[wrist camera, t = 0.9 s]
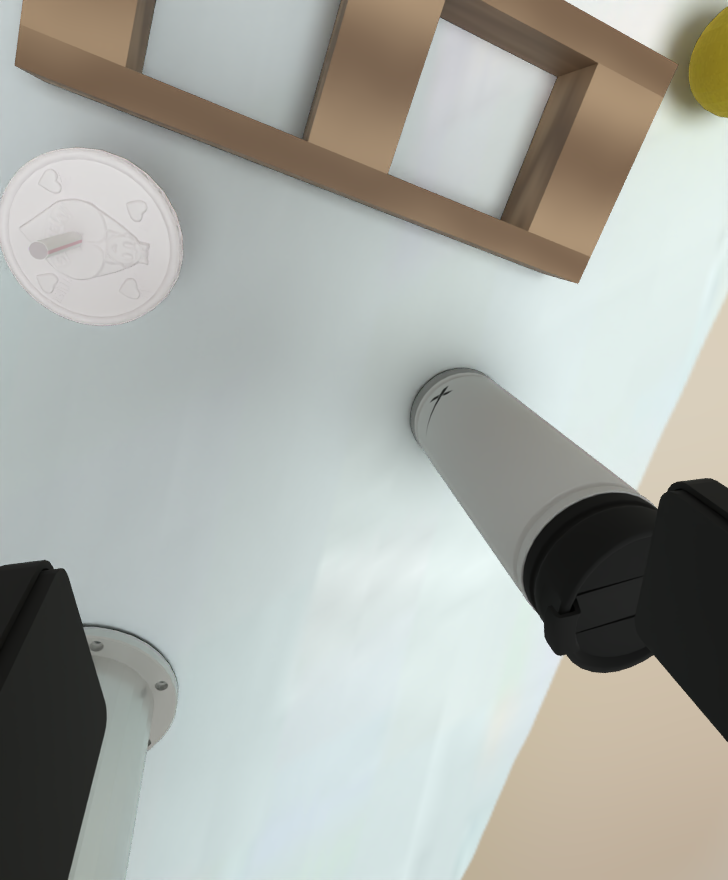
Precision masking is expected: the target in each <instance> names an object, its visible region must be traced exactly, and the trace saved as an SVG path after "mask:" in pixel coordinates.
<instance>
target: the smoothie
mask: <svg viewBox="0 0 728 880" xmlns="http://www.w3.org/2000/svg"><path fill="white" fill-rule="evenodd" d="M0 245H1V249H2V252H3V255H4V258H5V260H6V262H7V264H8V266H9V268H10V270H11V272H12V273H13V275H14V276H15V278H16V279H17V281H18V282H19V283H20V285H21V286H22V287H23V288H24V289H25V290H26V291H27V292H28V294H29V295H30V296H31V297H33V298H34V299H35V300H36V301H37V302H38V303H40V304H41V305H43V306H44V307H45V308H47V309H49V310H50V311H52V312H53V313H55V314H57V315H59V316H61V317H64V318H66V319H69V320H72V321H75V322H78V323H83V324H87V325H95V326H110V325H118V324H123V323H127V322H130V321H132V320H135V319H137V318H139V317H141V316H143V315H145V314H146V313H148V312H150V311H152V310H153V309H154V308H156V307H157V306H158V305H159V304H160V303H161V302H162V301H163V300H164V299H165V298H166V297H167V296H168V295H169V293H170V291H171V290H172V288H173V286H174V285H175V283H176V281H177V279H178V277H179V273H180V269H181V265H182V261H183V235H182V231H181V228H180V224H179V221H178V217H177V214H176V212H175V210H174V208H173V206H172V205H171V203H170V201H169V199H168V198H167V196H166V194H165V192H164V191H163V190H162V189H161V188H160V187H159V186H158V185H157V184H156V182H155V181H154V180H153V179H152V178H151V177H150V176H149V175H148V174H147V173H146V172H144V171H143V170H142V169H140V168H139V167H137V166H136V165H134V164H133V163H131V162H130V161H128V160H127V159H125V158H122V157H120V156H117V155H114V154H112V153H109V152H106V151H104V150H99V149H90V148H80V147H75V148H66V149H58V150H54V151H50V152H47V153H44V154H42V155H40V156H38V157H35V158H34V159H32V160H31V161H29V162H27V163H26V164H25V165H24V166H22V167H21V168H20V169H19V170H18V171H17V172H16V173H15V174H14V176H13V177H12V179H11V180H10V181H9V183H8V185H7V186H6V188H5V190H4V193H3V195H2V198H1V201H0Z"/></svg>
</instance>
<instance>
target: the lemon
mask: <svg viewBox="0 0 728 880" xmlns="http://www.w3.org/2000/svg"><path fill="white" fill-rule="evenodd" d="M689 83H690V88H691V91H692V93H693V95H694V97H695V99H696V100H697V102H698V103H699V104H700V105H701V106H702V107H703V108H704V109H705V110H707V111H709V112H711V113H713V114H715V115H717V116H720V117H726V118H728V7H726V8H725V9H723V10H722V11H721V12H720V13H719V14H718V15H717V16H716V17H715V18H714V19H713V20H712V21H711V22H710V23H709V24H708V26H707V27H706V28H705V30H704V31H703V33H702V34H701V36H700V37H699V39H698V41H697V42H696V45H695V47H694V50H693V52H692V55H691V59H690V64H689Z"/></svg>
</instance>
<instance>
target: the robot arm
mask: <svg viewBox="0 0 728 880" xmlns="http://www.w3.org/2000/svg"><path fill="white" fill-rule="evenodd" d="M635 627H636V631H637V633H638V635H639V637H640V639H641V640H642V642H643V643H644V644H645V645H646V646H647V648H648V649H649V650H650V651H651V652H652V653H653V655H654V656H655V657H656V658H657V659H658V660H659V662H660V663H661V664H662V665H663V666H664V667H665V669H666V670H667V671H668V672H669V673H670V675H671V676H672V677H673V678H674V679H675V681H676V682H677V683H678V684H679V685H680V686H681V688H682V689H683V690H684V691H685V692H686V694H687V695H688V696H689V697H690V698H691V699H692V701H693V702H694V703H695V704H696V705H697V707H698V708H699V709H700V710H701V711H702V712H703V713H704V715H705V716H706V717H707V718H708V719H709V721H710V722H711V723H712V724H713V725H714V727H715V728H716V729H717V730H718V731H719V732H720V733H721V735H722V736H723V737H724V738H725V740H726V741H727V742H728V488H727V487H725V486H724V485H722V484H721V483H719V482H718V481H716V480H713V479H711V478H710V479H708V478H705V479H696V480H688V481H680V482H676V483H673V484H672V485H671V486H670V487H669V488H668V491H667V492H666V493H664V494H663V495H662V496H661V499H660V502H659V506H658V511H657V516H656V520H655V525H654V530H653V534H652V539H651V544H650V548H649V553H648V558H647V562H646V567H645V572H644V576H643V581H642V586H641V590H640V595H639V600H638V604H637V609H636V614H635ZM177 701H178V686H177V681H176V677H175V675H174V673H173V671H172V669H171V667H170V665H169V663H168V662H167V661H166V660H165V659H164V658H163V656H162V655H161V654H160V653H159V652H158V651H156V650H155V649H154V648H152V647H151V646H150V645H149V644H147V643H145V642H143V641H141V640H139V639H138V638H136V637H134V636H131V635H128V634H125V633H122V632H119V631H116V630H111V629H105V628H99V627H83V625H82V622H81V618H80V615H79V611H78V608H77V605H76V601H75V598H74V595H73V591H72V588H71V584H70V581H69V578H68V575H67V573H66V571H65V570H64V569H62V568H60V569H53V566H52V565H51V563H50V562H49V561H46V560H42V561H33V562H25V563H17V564H9V565H3V566H1V567H0V880H126V874H127V868H128V862H129V856H130V850H131V844H132V837H133V831H134V825H135V819H136V813H137V807H138V801H139V795H140V789H141V783H142V777H143V771H144V765H145V759H146V753H147V751H148V750H150V749H151V748H152V747H153V746H154V745H155V744H157V743H158V742H159V741H160V740H161V739H162V738H163V736H164V735H165V734H166V732H167V731H168V730H169V728H170V726H171V724H172V722H173V719H174V717H175V713H176V707H177Z"/></svg>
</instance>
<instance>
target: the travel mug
mask: <svg viewBox="0 0 728 880" xmlns="http://www.w3.org/2000/svg"><path fill="white" fill-rule="evenodd" d="M411 428H412V433H413V435H414V437H415V439H416V441H417V442H418V444H419V445H420V447H421V448H422V449H423V451H424V452H425V454H426V455H427V457H428V458H429V460H430V461H431V463H432V464H433V465H434V467H435V468H436V470H437V471H438V473H439V474H440V476H441V477H442V479H443V480H444V481H445V483H446V484H447V486H448V487H449V489H450V490H451V492H452V493H453V494H454V496H455V497H456V499H457V500H458V502H459V503H460V505H461V506H462V507H463V509H464V510H465V512H466V513H467V515H468V516H469V518H470V519H471V520H472V522H473V523H474V525H475V526H476V528H477V529H478V531H479V532H480V534H481V535H482V536H483V538H484V539H485V541H486V542H487V544H488V545H489V547H490V548H491V549H492V551H493V552H494V554H495V555H496V557H497V558H498V560H499V561H500V562H501V564H502V565H503V567H504V568H505V570H506V571H507V573H508V574H509V575H510V577H511V578H512V580H513V581H514V583H515V584H516V586H517V587H518V588H519V590H520V591H521V592H522V594H523V596H524V597H525V599H526V600H527V601H528V603H529V604H530V605H531V607H532V608H533V609H534V610H535V611H536V612H537V613H538V614H539V616H540V618H541V619H542V621H543V622H544V635H545V639H546V641H547V643H548V644H549V646H550V647H551V649H552V650H553V651H554V653H555V654H557V655H559V656H562V655H567V656H568V657H569V659H570V660H571V661H572V662H573V663H574V664H576V665H577V666H579V667H580V668H582V669H585V670H588V671H591V672H599V673H608V672H616V671H620V670H623V669H627V668H630V667H632V666H634V665H637V664H639V663H641V662H643V661H645V660H646V659H648V658H649V657H651V656H653V653H652V652H651V651H650V650H649V649H648V648H647V646H646V645H645V644H644V643H643V642H642V640H641V639H640V637H639V635H638V633H637V631H636V627H635V614H636V609H637V604H638V600H639V595H640V590H641V586H642V581H643V576H644V572H645V567H646V562H647V558H648V553H649V548H650V544H651V539H652V534H653V530H654V525H655V520H656V516H657V511H658V509H657V508H656V507H655V506H654V505H653V504H652V503H651V502H650V501H649V500H648V499H646V498H645V497H644V496H642V495H640V494H639V493H638V492H637V491H636V490H635V489H633V488H632V487H631V486H630V485H628V484H627V483H626V482H624V481H623V480H622V479H620V478H619V477H618V476H617V475H615V474H614V473H613V472H611V471H610V470H609V469H607V468H606V467H605V466H604V465H602V464H601V463H600V462H598V461H597V460H596V459H594V458H593V457H592V456H591V455H589V454H588V453H587V452H585V451H584V450H583V449H581V448H580V447H579V446H578V445H576V444H575V443H574V442H572V441H571V440H570V439H568V438H567V437H566V436H565V435H563V434H562V433H561V432H559V431H558V430H557V429H555V428H554V427H553V426H552V425H550V424H549V423H548V422H546V421H545V420H544V419H543V418H541V417H540V416H539V415H537V414H536V413H535V412H533V411H532V410H531V409H530V408H528V407H527V406H526V405H524V404H523V403H522V402H520V401H519V400H518V399H517V398H515V397H514V396H513V395H511V394H510V393H509V392H507V391H506V390H505V389H504V388H502V387H501V386H500V385H498V384H497V383H496V382H494V381H493V380H492V379H491V378H489V377H488V376H486V375H485V374H483V373H481V372H479V371H476V370H473V369H466V368H459V369H452V370H449V371H445V372H443V373H441V374H439V375H437V376H435V377H434V378H433V379H431V380H430V381H429V382H427V384H426V385H425V386H424V387H423V388H422V389H421V390H420V392H419V393H418V395H417V397H416V399H415V401H414V403H413V406H412V411H411Z"/></svg>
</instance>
